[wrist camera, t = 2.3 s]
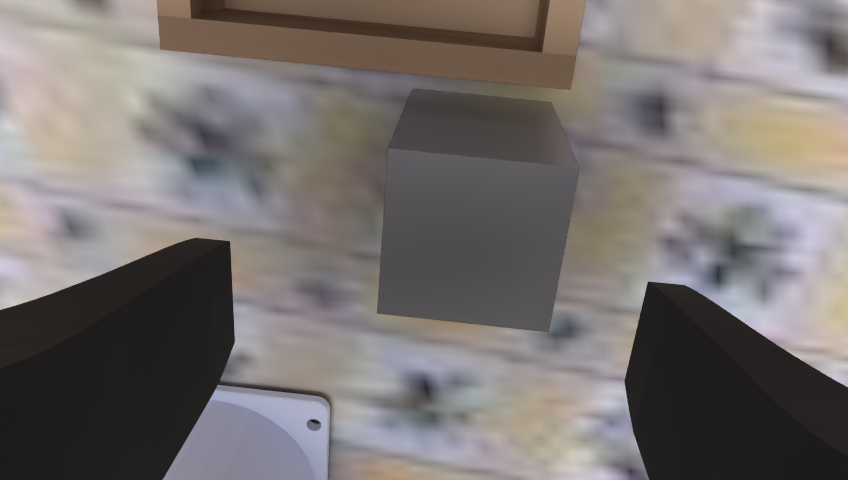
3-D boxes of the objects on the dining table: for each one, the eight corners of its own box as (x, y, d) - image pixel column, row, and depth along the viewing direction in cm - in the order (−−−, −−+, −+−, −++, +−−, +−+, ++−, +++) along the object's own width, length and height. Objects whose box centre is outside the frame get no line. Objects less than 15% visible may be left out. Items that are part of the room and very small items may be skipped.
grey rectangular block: (530, 229, 21) (548, 332, 16) (402, 216, 22) (377, 313, 16) (551, 102, 20) (579, 167, 14) (412, 88, 20) (387, 148, 14)
